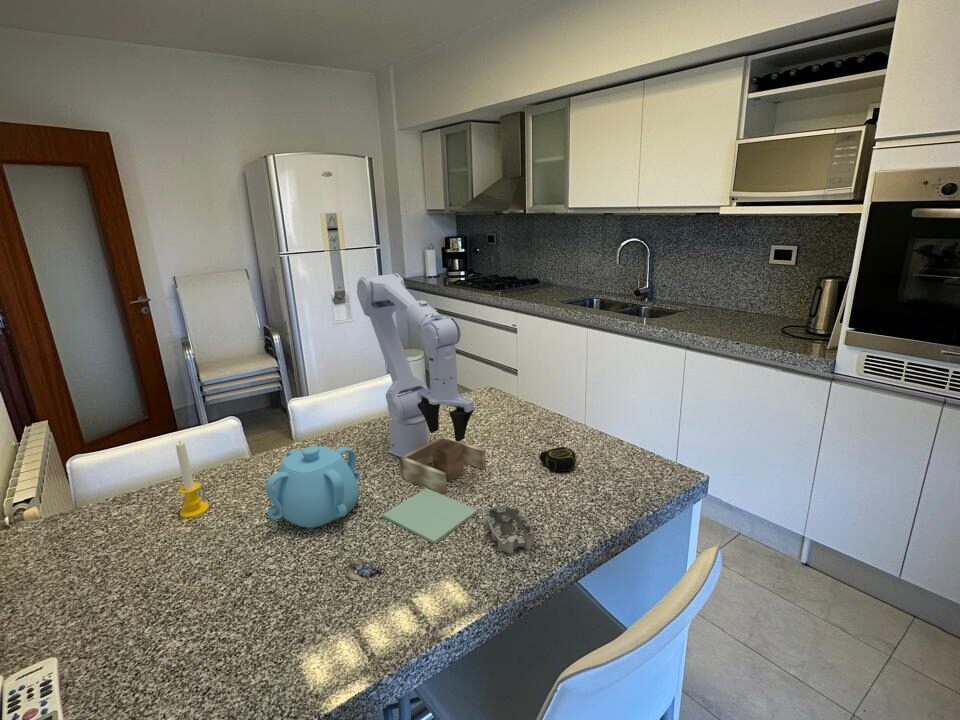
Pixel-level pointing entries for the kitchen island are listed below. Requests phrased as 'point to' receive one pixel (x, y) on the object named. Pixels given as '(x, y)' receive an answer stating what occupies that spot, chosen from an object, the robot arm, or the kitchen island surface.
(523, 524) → the egg carton
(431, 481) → the open-side box
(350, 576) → the blueberries
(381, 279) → the robot arm
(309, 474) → the decorative pot
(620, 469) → the kitchen island surface
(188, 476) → the candle
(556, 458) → the tape measure
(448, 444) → the walnut block
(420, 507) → the sage mat
